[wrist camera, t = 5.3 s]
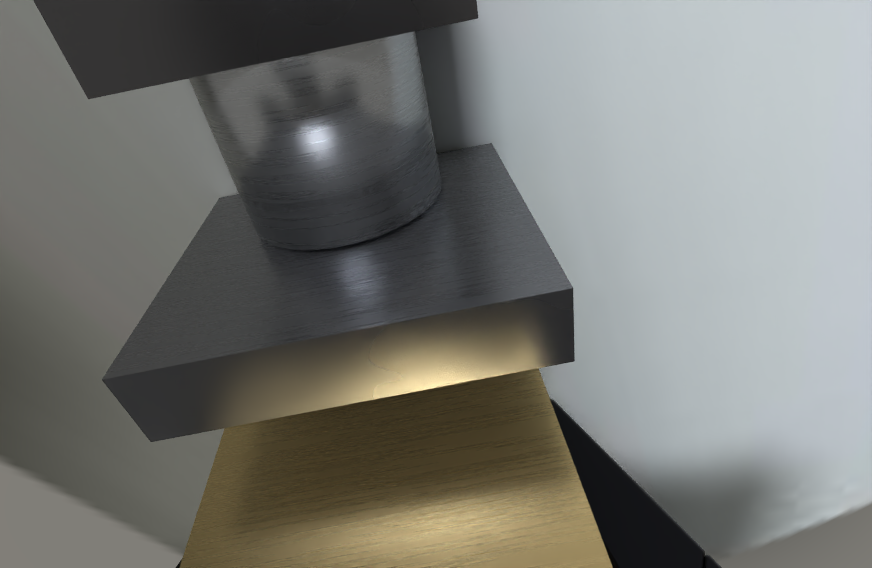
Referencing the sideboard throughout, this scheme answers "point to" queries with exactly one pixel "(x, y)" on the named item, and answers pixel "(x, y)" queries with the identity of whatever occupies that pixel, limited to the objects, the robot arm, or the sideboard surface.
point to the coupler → (401, 486)
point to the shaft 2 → (319, 216)
